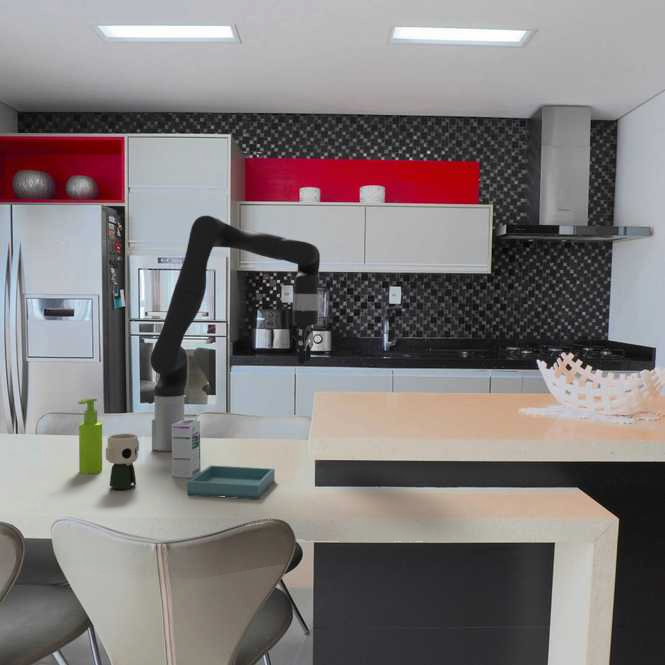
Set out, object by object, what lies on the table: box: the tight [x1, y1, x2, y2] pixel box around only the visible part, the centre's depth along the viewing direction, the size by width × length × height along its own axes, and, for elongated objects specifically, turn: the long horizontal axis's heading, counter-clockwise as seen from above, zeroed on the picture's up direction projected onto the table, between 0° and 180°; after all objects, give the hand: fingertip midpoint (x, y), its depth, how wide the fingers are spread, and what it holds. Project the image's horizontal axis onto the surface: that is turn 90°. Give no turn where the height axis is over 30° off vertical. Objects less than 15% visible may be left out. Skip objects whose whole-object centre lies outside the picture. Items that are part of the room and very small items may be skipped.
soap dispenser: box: [77, 398, 103, 475], centre depth 170 cm, size 6×7×20 cm
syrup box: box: [171, 419, 202, 479], centre depth 168 cm, size 6×6×14 cm
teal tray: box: [187, 464, 276, 500], centre depth 157 cm, size 18×16×3 cm
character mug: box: [105, 433, 140, 490], centre depth 156 cm, size 11×7×13 cm, turn 155°
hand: (304, 362), depth 190 cm, fingers open, 8 cm apart
